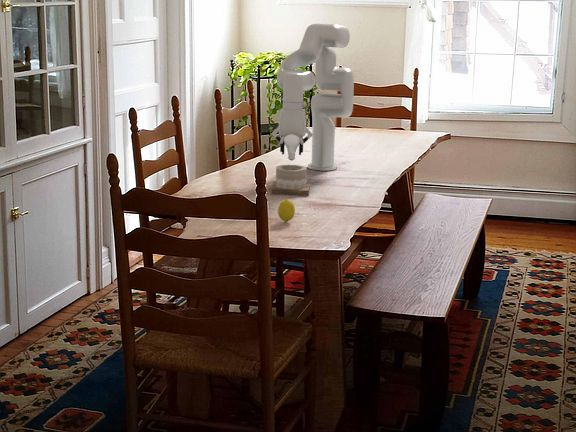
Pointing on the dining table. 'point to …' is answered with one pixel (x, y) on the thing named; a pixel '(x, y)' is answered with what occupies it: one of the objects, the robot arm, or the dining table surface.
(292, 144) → the lightbulb
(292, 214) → the lemon
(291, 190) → the socket
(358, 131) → the dining table surface
